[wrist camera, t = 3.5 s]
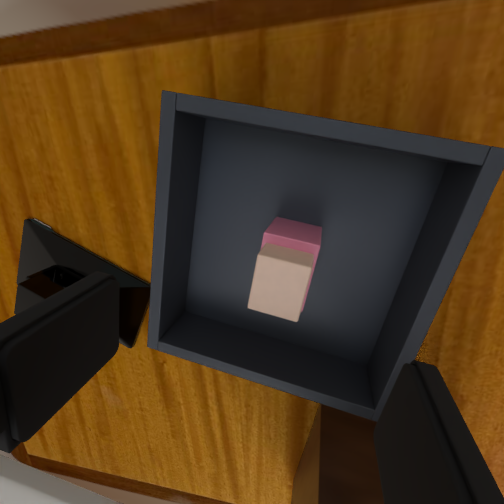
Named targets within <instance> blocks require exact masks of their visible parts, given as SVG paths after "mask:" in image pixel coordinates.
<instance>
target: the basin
mask: <svg viewBox="0 0 504 504" xmlns="http://www.w3.org/2000/svg"><path fill="white" fill-rule="evenodd" d="M503 169H504V148H499V147H493V146H487V145H481V144H475V143H469V142H463V141H457V140H452V139H446V138H440V137H434V136H428V135H422V134H416V133H411V132H405V131H399V130H393V129H387V128H381V127H375V126H370V125H364V124H358V123H352V122H346V121H340V120H334V119H328V118H323V117H317V116H311V115H305V114H299V113H293V112H287V111H282V110H276V109H270V108H264V107H258V106H252V105H246V104H241V103H235V102H229V101H223V100H217V99H211V98H205V97H199V96H194V95H188V94H182V93H176V92H170V91H164V90H163V91H162V98H161V115H160V133H159V150H158V168H157V185H156V203H155V220H154V238H153V255H152V272H151V290H150V307H149V325H148V342H147V347H149V348H152V349H155V350H158V351H161V352H164V353H167V354H170V355H174V356H177V357H180V358H183V359H186V360H189V361H192V362H195V363H198V364H201V365H204V366H207V367H210V368H213V369H216V370H219V371H223V372H226V373H229V374H232V375H235V376H238V377H241V378H244V379H247V380H250V381H253V382H256V383H259V384H262V385H265V386H269V387H272V388H275V389H278V390H281V391H284V392H287V393H290V394H293V395H296V396H299V397H302V398H305V399H308V400H311V401H314V402H318V403H321V404H324V405H327V406H330V407H333V408H336V409H339V410H342V411H345V412H348V413H351V414H354V415H357V416H360V417H364V418H367V419H370V420H373V421H376V422H377V421H378V419H379V417H380V415H381V413H382V410H383V408H384V406H385V404H386V402H387V399H388V397H389V395H390V393H391V391H392V388H393V386H394V384H395V382H396V380H397V377H398V375H399V373H400V371H401V369H402V367H403V365H404V364H405V363H408V364H410V363H411V362H412V361H413V360H415V357H416V355H417V353H418V351H419V349H420V347H421V345H422V342H423V340H424V338H425V336H426V334H427V332H428V330H429V327H430V325H431V323H432V321H433V319H434V317H435V315H436V312H437V310H438V308H439V306H440V304H441V302H442V300H443V297H444V295H445V293H446V291H447V289H448V287H449V285H450V282H451V280H452V278H453V276H454V274H455V272H456V270H457V267H458V265H459V263H460V261H461V259H462V257H463V255H464V252H465V250H466V248H467V246H468V244H469V242H470V240H471V237H472V235H473V233H474V231H475V229H476V227H477V225H478V222H479V220H480V218H481V216H482V214H483V212H484V209H485V207H486V205H487V203H488V201H489V199H490V197H491V194H492V192H493V190H494V188H495V186H496V184H497V182H498V179H499V177H500V175H501V173H502V171H503ZM276 217H280V218H285V219H289V220H293V221H298V222H302V223H306V224H311V225H315V226H319V227H322V234H321V247H320V250H319V254H318V258H317V261H316V265H315V269H314V272H313V276H312V279H311V283H310V287H309V290H308V294H307V298H306V301H305V305H304V308H303V311H302V312H300V316H299V319H298V321H297V322H294V321H291V320H287V319H284V318H280V317H277V316H273V315H270V314H266V313H263V312H259V311H256V310H252V309H249V308H248V301H249V296H250V291H251V286H252V281H253V276H254V270H255V265H256V260H257V255H258V254H259V252H260V250H261V245H262V240H263V234H264V232H265V231H266V229H267V228H268V227H269V225H270V224H271V223H272V222H273V220H274V219H275V218H276Z"/></svg>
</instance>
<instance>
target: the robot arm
mask: <svg viewBox="0 0 504 504" xmlns="http://www.w3.org/2000/svg"><path fill="white" fill-rule="evenodd" d="M119 293H120V285H119V282H118V281H116V278H115V276H113V275H110V274H106V273H103V272H99V271H97V272H94V273H92V274H90V275H88V276H87V277H85V278H83V279H81V280H79V281H77V282H76V283H74V284H72V285H70V286H68V287H66V288H64V289H63V290H61V291H59V292H57V293H55V294H53V295H52V296H50V297H48V298H46V299H44V300H42V301H40V302H39V303H37V304H35V305H33V306H31V307H29V308H28V309H26V310H24V311H22V312H20V313H18V314H17V315H15V316H13V317H11V318H9V319H7V320H5V321H4V322H2V323H0V450H2V451H5V452H7V453H10V452H11V451H12V450H13V449H14V448H15V447H16V446H18V445H19V444H20V443H21V442H25V441H27V440H29V439H30V438H31V437H32V436H33V435H34V434H35V433H36V432H37V431H38V430H39V429H40V428H41V427H42V426H43V425H44V424H45V423H46V422H47V421H48V420H49V419H50V418H51V417H52V416H53V415H54V414H55V413H56V412H57V411H58V410H59V409H60V408H61V407H63V406H64V405H65V404H66V403H67V402H68V401H69V400H70V399H71V398H72V397H73V396H74V395H75V394H76V393H77V392H78V391H79V390H80V389H81V388H82V387H83V386H84V385H85V384H86V383H87V382H88V381H89V380H90V379H91V378H92V377H93V376H94V375H95V374H96V373H97V372H98V371H99V370H100V369H101V368H102V367H103V366H104V365H105V364H106V363H107V362H108V361H109V360H110V359H111V358H112V357H113V356H114V355H115V354H116V352H117V350H118V347H119ZM374 445H375V451H376V457H377V463H378V469H379V475H380V481H381V487H382V493H383V499H384V504H504V497H503V495H502V493H501V492H500V490H499V488H498V486H497V484H496V482H495V480H494V478H493V476H492V474H491V472H490V470H489V468H488V466H487V464H486V462H485V460H484V458H483V456H482V454H481V452H480V450H479V448H478V447H477V445H476V443H475V441H474V439H473V437H472V435H471V433H470V431H469V429H468V427H467V425H466V423H465V421H464V419H463V417H462V415H461V413H460V411H459V409H458V407H457V405H456V404H455V402H454V400H453V398H452V396H451V394H450V392H449V390H448V388H447V386H446V384H445V382H444V380H443V378H442V376H441V374H440V372H439V370H438V369H437V367H436V366H434V365H430V364H427V363H423V362H420V361H416V360H413V361H412V362H411V363H410V364H408V363H405V364H404V365H403V367H402V369H401V371H400V373H399V375H398V377H397V380H396V382H395V384H394V386H393V388H392V391H391V393H390V395H389V397H388V399H387V402H386V404H385V406H384V408H383V410H382V413H381V415H380V417H379V419H378V421H377V423H376V426H375V429H374ZM0 504H122V503H119V502H117V501H114V500H112V499H110V498H107V497H105V496H102V495H100V494H97V493H95V492H93V491H90V490H87V489H85V488H83V487H80V486H78V485H75V484H73V483H70V482H68V481H65V480H63V479H60V478H58V477H55V476H53V475H50V474H48V473H45V472H42V471H40V470H38V469H35V468H33V467H30V466H28V465H25V464H23V463H20V462H18V461H15V460H12V459H10V458H8V457H5V456H3V455H0Z"/></svg>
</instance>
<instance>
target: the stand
mask: <svg viewBox="0 0 504 504" xmlns="http://www.w3.org/2000/svg"><path fill="white" fill-rule="evenodd" d="M376 423H377V422H376V421H373V420H370V419H367V418H364V417H360V416H357V415H354V414H351V413H348V412H345V411H342V410H339V409H336V408H333V407H330V406H327V405H324V404H321V403H320V405H319V408H318V411H317V414H316V416H315V419H314V422H313V425H312V428H311V431H310V434H309V437H308V440H307V442H306V445H305V448H304V451H303V454H302V457H301V460H300V463H299V466H298V469H297V471H296V474H295V477H294V481H293V490H292V500H291V504H384V499H383V493H382V487H381V481H380V475H379V469H378V463H377V457H376V451H375V445H374V429H375V426H376Z"/></svg>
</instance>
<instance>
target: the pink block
mask: <svg viewBox="0 0 504 504" xmlns="http://www.w3.org/2000/svg"><path fill="white" fill-rule="evenodd" d="M321 234H322V227H319V226H315V225H311V224H306V223H302V222H298V221H293V220H289V219H285V218H280V217H276V218H275V219H274V220H273V222H272V223H271V224H270V225H269V227H268V228H267V229H266V231H265V232H264V234H263V240H262V245H261V250H260V252H259V254H258V255H257V260H256V265H255V270H254V276H253V281H252V286H251V291H250V296H249V301H248V308H249V309H252V310H256V311H259V312H263V313H266V314H270V315H273V316H277V317H280V318H284V319H287V320H291V321H294V322H297V321H298V319H299V316H300V312H302V311H303V308H304V305H305V301H306V298H307V294H308V290H309V287H310V283H311V279H312V276H313V272H314V269H315V265H316V261H317V258H318V254H319V250H320V247H321Z"/></svg>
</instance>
